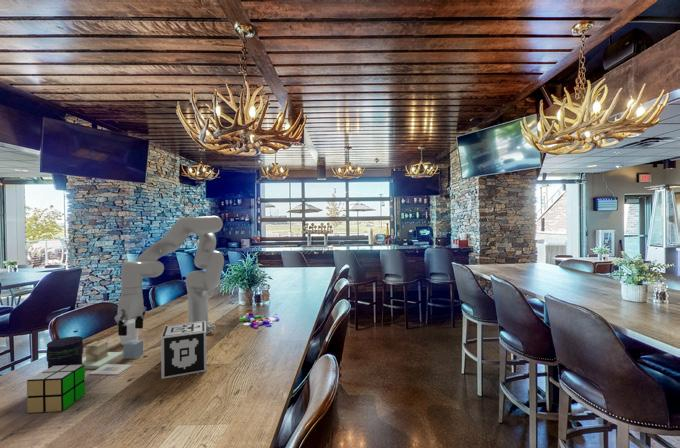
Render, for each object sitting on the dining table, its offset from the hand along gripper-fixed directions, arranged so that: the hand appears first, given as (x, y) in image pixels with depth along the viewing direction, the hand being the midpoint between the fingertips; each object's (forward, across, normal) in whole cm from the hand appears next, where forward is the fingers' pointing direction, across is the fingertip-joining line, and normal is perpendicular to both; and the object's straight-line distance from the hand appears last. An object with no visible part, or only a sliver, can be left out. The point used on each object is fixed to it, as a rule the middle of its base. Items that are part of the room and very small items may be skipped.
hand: (131, 331), depth 136 cm
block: (+11, +8, +28) cm, 31 cm away
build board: (+11, +5, -11) cm, 16 cm away
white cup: (+10, -16, -13) cm, 23 cm away
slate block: (+10, -1, +1) cm, 11 cm away
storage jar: (+11, +23, -7) cm, 27 cm away
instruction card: (+11, +12, +1) cm, 16 cm away
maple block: (+9, +5, -11) cm, 15 cm away
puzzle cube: (+12, +35, +2) cm, 37 cm away
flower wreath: (+9, -51, +39) cm, 65 cm away
